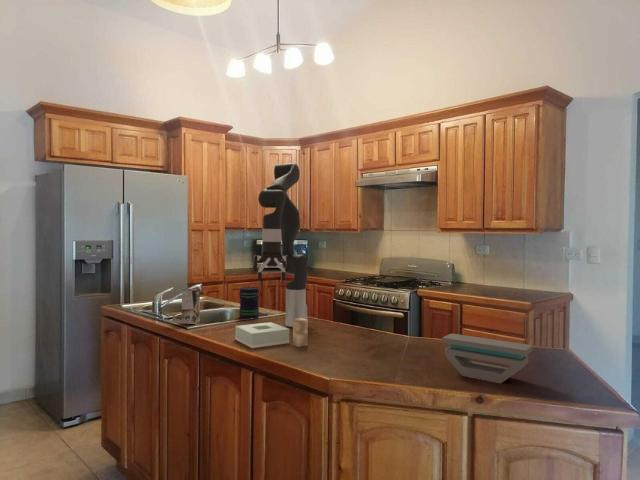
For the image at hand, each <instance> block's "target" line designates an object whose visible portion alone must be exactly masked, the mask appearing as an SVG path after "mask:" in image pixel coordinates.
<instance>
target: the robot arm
mask: <svg viewBox="0 0 640 480" xmlns="http://www.w3.org/2000/svg"><path fill="white" fill-rule="evenodd" d="M273 175H274V180H273V181H272V182H271V184H270V185H269V186H266V187H264V188H263V189H262V190H260V193H259V194H258V203H259V205H260V206H261V207H262V208H264V209H274V211H273V212H270V213H267V214H264V215H263V217H262V237H261V240H262V241H261V242H262V243H261V244H262V246H261V247H262V248H261V255H257V254H254V256H253V267H252V270H253V271H255V272H257V280H258V281H259V283H262V282H263V281H262V279H263V273H262V271H263V270H264V269H265V268H266V267H278V268H279V270H280V271H281V272H280V282H281V283H283V282H284V281H285V280H286V274H290V275H293V279H292V280H290V281H287V282H286V283H285V327H289V328H293V319H298V318H304V319H307V320H308V305H307V304H306V303H307V302H306V300H307V299H306V294H307V293H306V289H307V283H308V274H309V273H308V271H309V262H308V258H307V256H306V255H304V254H295V252H294V249H295V248H294V244H295V241H296V239H297V236H298V234H299V231H300V228H301V219H300V212H299V209H298V208H297V206H296V205H295V203H294V202H293V201H292V200H291V199H290V197H289V195H288V193H287V192H288V191H289V190H290V189H291V188H292V187H293V186H294V185H296V184H297V183H298V182H299V180H300V168H299V165H298V164H297V163H293V162H290V163H277V164H275V166H274V168H273ZM260 260H261V261H262V263H261V265H260V266H259V267H258V262H259V261H260ZM281 262H282V263H281Z"/></svg>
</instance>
